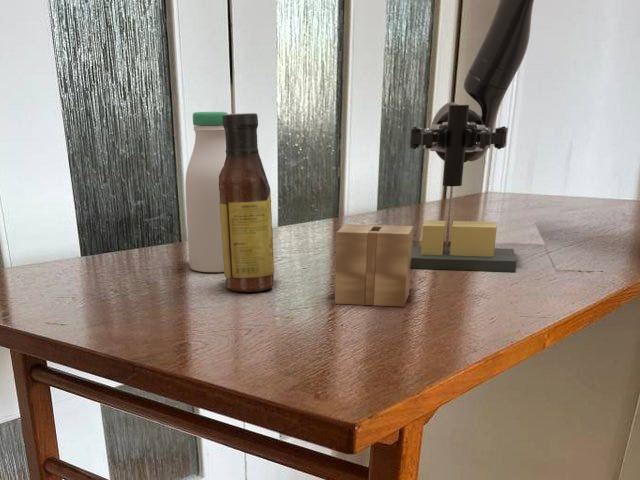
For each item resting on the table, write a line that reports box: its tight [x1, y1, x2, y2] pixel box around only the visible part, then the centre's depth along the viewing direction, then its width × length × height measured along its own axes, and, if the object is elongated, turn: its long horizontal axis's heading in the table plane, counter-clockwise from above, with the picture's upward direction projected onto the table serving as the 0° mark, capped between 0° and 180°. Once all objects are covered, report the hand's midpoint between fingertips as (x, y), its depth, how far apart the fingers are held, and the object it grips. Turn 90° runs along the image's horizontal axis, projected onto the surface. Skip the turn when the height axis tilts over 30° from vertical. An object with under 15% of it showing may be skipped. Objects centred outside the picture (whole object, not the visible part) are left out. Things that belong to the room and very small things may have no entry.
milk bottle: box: [184, 111, 228, 273], centre depth 102 cm, size 8×8×20 cm
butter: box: [411, 220, 517, 273], centre depth 107 cm, size 16×10×6 cm, turn 77°
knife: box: [442, 104, 470, 254], centre depth 104 cm, size 3×3×19 cm
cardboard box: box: [334, 224, 414, 308], centre depth 87 cm, size 8×6×8 cm
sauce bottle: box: [219, 112, 275, 293], centre depth 90 cm, size 7×6×20 cm
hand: (455, 139), depth 100 cm, fingers open, 6 cm apart
